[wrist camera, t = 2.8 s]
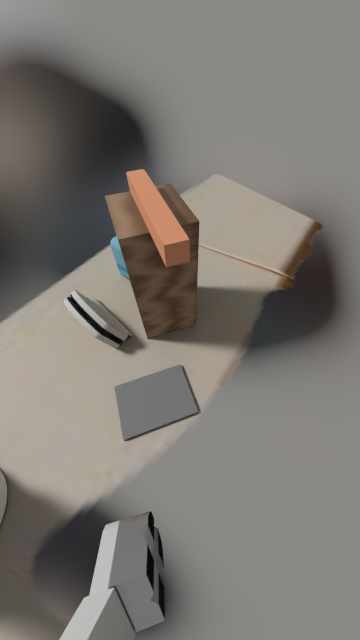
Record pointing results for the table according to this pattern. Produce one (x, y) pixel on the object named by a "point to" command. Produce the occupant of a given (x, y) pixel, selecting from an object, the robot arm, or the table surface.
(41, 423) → the table surface
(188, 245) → the pin
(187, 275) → the brown block
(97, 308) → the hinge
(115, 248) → the data package
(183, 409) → the mat
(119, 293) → the table surface
